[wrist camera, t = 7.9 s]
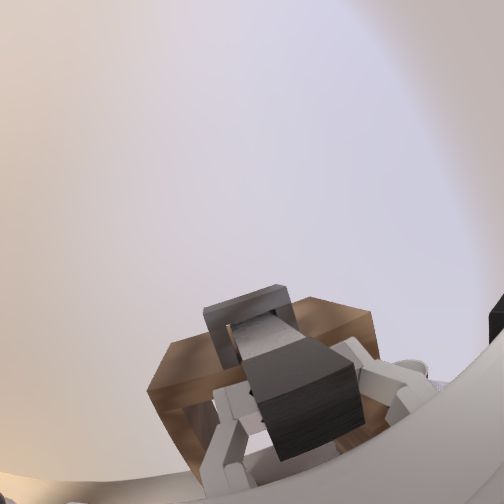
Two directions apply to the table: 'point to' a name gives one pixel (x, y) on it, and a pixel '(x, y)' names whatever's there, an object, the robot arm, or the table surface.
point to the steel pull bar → (297, 385)
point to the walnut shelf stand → (232, 372)
